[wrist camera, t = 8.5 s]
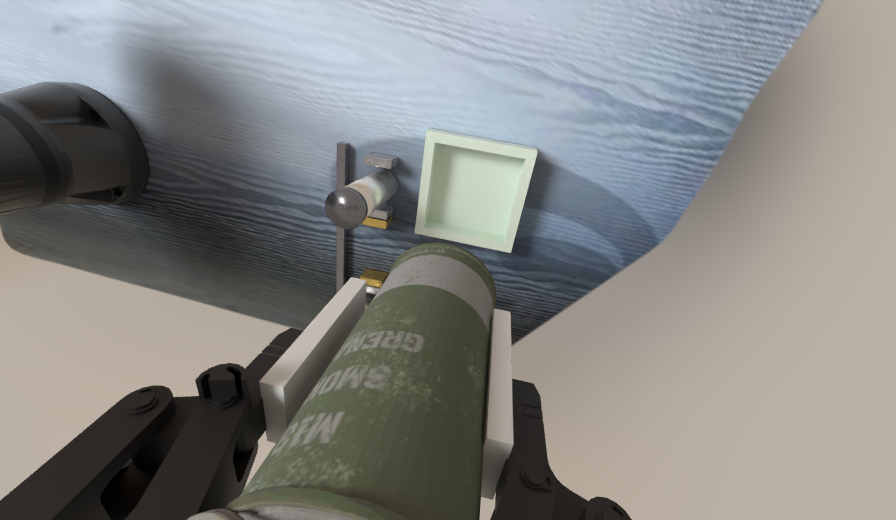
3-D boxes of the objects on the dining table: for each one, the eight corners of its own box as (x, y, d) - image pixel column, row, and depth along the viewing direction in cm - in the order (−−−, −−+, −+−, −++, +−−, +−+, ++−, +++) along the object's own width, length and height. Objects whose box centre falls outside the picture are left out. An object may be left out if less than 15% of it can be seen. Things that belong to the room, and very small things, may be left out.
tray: (420, 224, 42) (414, 233, 40) (432, 128, 37) (426, 130, 34) (510, 243, 41) (510, 253, 39) (535, 147, 36) (537, 150, 34)
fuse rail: (339, 313, 51) (299, 363, 41) (340, 142, 39) (286, 155, 30) (386, 323, 50) (357, 377, 40) (401, 153, 39) (365, 170, 29)
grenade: (473, 226, 16) (312, 863, 3) (510, 325, 18) (524, 962, 5) (362, 261, 18) (-70, 744, 4) (407, 347, 20) (207, 851, 7)
